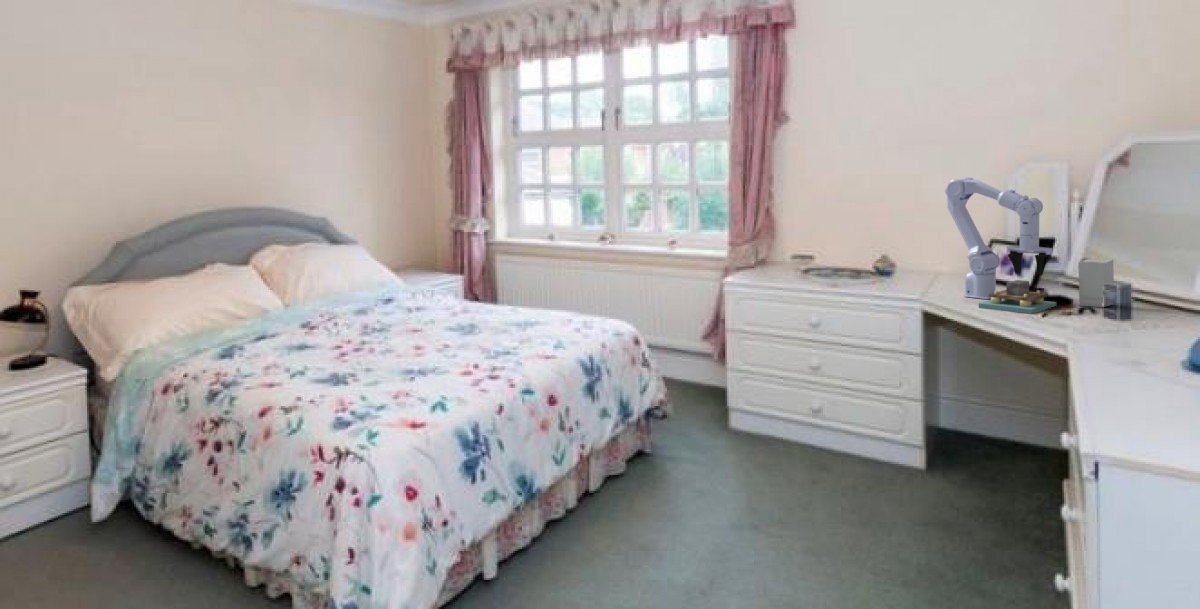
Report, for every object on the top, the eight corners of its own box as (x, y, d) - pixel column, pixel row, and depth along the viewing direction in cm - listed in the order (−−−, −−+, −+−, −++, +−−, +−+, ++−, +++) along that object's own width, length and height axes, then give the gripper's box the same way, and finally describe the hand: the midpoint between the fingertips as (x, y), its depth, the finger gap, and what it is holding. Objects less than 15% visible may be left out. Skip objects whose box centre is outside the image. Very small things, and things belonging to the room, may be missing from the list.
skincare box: (1114, 305, 238) (1115, 259, 236) (1105, 308, 235) (1107, 262, 232) (1085, 302, 245) (1087, 258, 242) (1077, 305, 242) (1078, 260, 239)
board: (988, 296, 251) (988, 282, 250) (1006, 292, 256) (1006, 278, 255) (1029, 301, 239) (1029, 286, 238) (1047, 296, 243) (1047, 281, 243)
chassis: (978, 307, 252) (978, 291, 251) (1003, 300, 259) (1003, 285, 258) (1031, 313, 236) (1031, 297, 235) (1056, 306, 243) (1056, 290, 242)
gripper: (1058, 233, 246) (1057, 274, 249) (1015, 232, 259) (1015, 270, 261) (1045, 236, 243) (1044, 277, 246) (1003, 235, 256) (1002, 273, 258)
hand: (1028, 274), depth 253 cm, fingers open, 7 cm apart
